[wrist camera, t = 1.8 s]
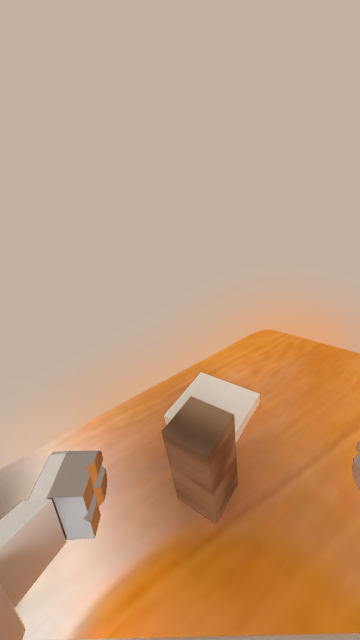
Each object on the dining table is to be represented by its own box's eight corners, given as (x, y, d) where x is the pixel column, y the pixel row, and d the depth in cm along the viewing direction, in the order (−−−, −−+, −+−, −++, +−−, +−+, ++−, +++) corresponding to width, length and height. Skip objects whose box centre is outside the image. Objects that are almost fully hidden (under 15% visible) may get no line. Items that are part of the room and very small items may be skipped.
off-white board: (202, 381, 50) (201, 372, 49) (259, 403, 45) (259, 393, 44) (165, 424, 44) (163, 415, 43) (228, 456, 38) (227, 447, 37)
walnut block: (200, 463, 38) (190, 396, 32) (237, 484, 35) (234, 414, 29) (178, 498, 35) (161, 431, 28) (216, 524, 32) (207, 455, 26)
